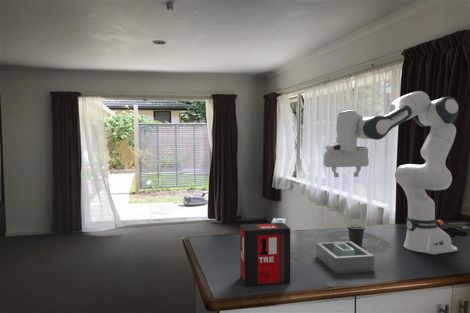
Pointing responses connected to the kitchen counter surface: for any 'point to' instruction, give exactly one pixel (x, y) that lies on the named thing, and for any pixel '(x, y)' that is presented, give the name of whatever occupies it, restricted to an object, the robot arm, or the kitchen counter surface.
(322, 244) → the large crate
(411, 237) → the robot arm
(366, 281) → the kitchen counter surface
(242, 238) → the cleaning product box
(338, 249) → the small crate
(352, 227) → the coffee cup
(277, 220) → the light bulb box
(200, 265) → the kitchen counter surface
